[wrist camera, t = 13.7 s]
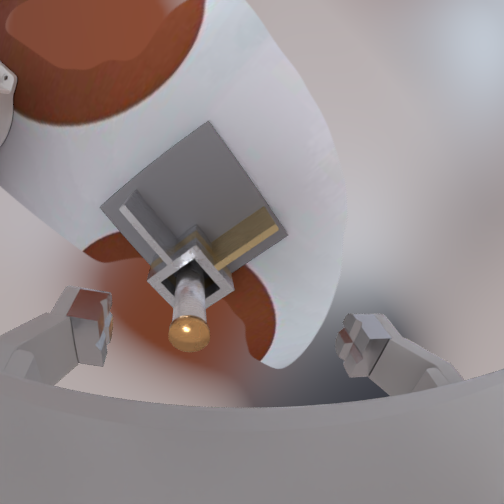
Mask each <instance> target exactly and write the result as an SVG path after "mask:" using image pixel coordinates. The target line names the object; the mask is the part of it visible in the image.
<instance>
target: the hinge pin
mask: <svg viewBox="0 0 504 504" xmlns="http://www.w3.org/2000/svg"><path fill="white" fill-rule="evenodd" d="M169 340H170V342H171V344H172V345H173V346H174V347H176V348H177V349H179V350H181V351H186V352H194V351H199V350H201V349H203V348H204V347H205V346H206V345H207V344H208V343H209V340H210V330H209V326H208V324H207V323H206V306H205V286H204V269H203V268H202V267H201V266H200V265H199V264H198V262H197V261H196V260H195V259H193V260H191V261H190V262H188V263H187V264H186V265H184V266H183V267H181V268H180V269H179V270H177V279H176V288H175V298H174V309H173V321H172V323H171V325H170V327H169Z"/></svg>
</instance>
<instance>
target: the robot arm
mask: <svg viewBox="0 0 504 504" xmlns="http://www.w3.org/2000/svg"><path fill="white" fill-rule="evenodd" d="M7 76H8V79H7V80H6V78H7ZM16 84H17V76H16V75H15V74H14V73H13V72H12V71H11V70H10V69H8V68H7V67H6V66H5V65H4V64H3V63H2V62H1V61H0V146H1V145H2V143H3V142H4V140H5V139H6V137H7V134H8V132H9V129H10V126H11V122H12V116H13V94H14V91H15V88H16ZM111 306H112V295H111V293H110V292H104V291H98V290H92V289H86V288H80V287H74V286H67V287H66V288H65V289H64V291H63V293H62V294H61V296H60V298H59V299H58V301H57V303H56V304H55V306H54V307H53V309H52V311H51V313H44V314H42V315H40V316H38V317H36V318H34V319H32V320H30V321H28V322H27V323H24V324H22V325H20V326H19V327H16V328H14V329H12V330H10V331H8V332H7V333H5V334H3V335H1V336H0V504H504V369H501V370H499V371H495V372H492V373H489V374H486V375H482V376H479V377H475V378H472V379H468V380H464V379H463V377H462V376H461V375H460V374H459V372H458V371H457V370H456V369H455V368H454V366H453V365H452V364H451V363H449V362H447V361H446V360H444V359H442V358H440V357H438V356H437V355H435V354H433V353H431V352H430V351H428V350H426V349H424V348H423V347H421V346H419V345H417V344H416V343H414V342H412V341H410V340H409V339H407V338H403V337H402V336H401V335H400V333H399V332H398V331H397V330H396V329H395V327H394V326H393V325H392V323H391V322H390V321H389V320H388V318H387V317H386V316H385V315H383V314H348V315H347V316H346V317H345V319H344V321H343V325H344V328H343V329H342V330H341V331H340V332H339V333H338V335H337V338H336V343H335V348H336V352H337V354H338V356H339V357H340V358H341V359H343V360H344V364H343V366H344V367H345V369H346V371H347V373H348V375H349V377H366V376H369V378H370V379H371V380H372V381H374V382H375V383H376V384H377V385H378V386H380V387H381V388H382V389H383V390H384V391H385V392H387V393H388V394H389V395H390V397H383V398H377V399H370V400H362V401H354V402H346V403H335V404H324V405H311V406H295V407H269V408H225V407H200V406H183V405H172V404H160V403H151V402H142V401H135V400H127V399H120V398H114V397H107V396H101V395H95V394H90V393H85V392H80V391H75V390H70V389H66V388H61V387H57V386H54V385H55V384H56V383H57V382H58V381H60V380H61V379H62V378H63V377H64V376H65V375H67V374H68V373H69V372H70V371H71V370H72V369H74V368H75V367H76V366H77V365H78V363H81V364H87V365H94V366H101V367H103V366H104V362H105V358H106V355H107V344H109V343H110V341H111V337H112V330H113V316H112V314H111V313H110V309H111Z"/></svg>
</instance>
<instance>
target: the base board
mask: <svg viewBox="0 0 504 504" xmlns="http://www.w3.org/2000/svg"><path fill="white" fill-rule="evenodd" d="M135 190H137V191H138V192H139V193H140V195H141V196H142V197H143V198H144V200H145V201H146V202H147V203H148V204H149V206H150V207H151V208H152V209H153V210H154V212H155V213H156V214H157V215H158V217H159V218H160V219H161V220H162V221H163V223H164V224H165V225H166V226H167V227H168V228H169V230H170V231H171V232H172V233H173V234H174V236H175V237H176V238H178V237H179V236H180V235H182V234H183V233H184V232H186V231H187V230H189V229H190V228H191V227H193V226H194V225H195V224H197V225H198V226H199V228H200V229H201V230H202V231H203V233H204V234H205V235H206V236H207V238H208V239H209V240H210V241H211V242H213V241H214V240H215V239H217V238H218V237H220V236H221V235H223V234H224V233H225V232H227V231H228V230H230V229H231V228H233V227H234V226H236V225H237V224H239V223H240V222H241V221H243V220H244V219H246V218H247V217H249V216H250V215H252V214H253V213H255V212H256V211H257V210H259V209H260V208H262V207H263V206H264V207H265V208H266V210H267V211H268V213H269V214H270V216H271V217H272V219H273V220H274V222H275V223H276V225H277V227H278V228H279V230H278V231H277V232H275V233H274V234H272V235H271V236H269V237H268V238H266V239H265V240H263V241H262V242H260V243H259V244H257V245H256V246H254V247H253V248H251V249H250V250H249V251H247V252H246V253H244V254H243V255H241V256H240V257H238V258H237V259H235V260H234V261H232V262H231V263H229V265H230V270H231V273H233V272H234V271H236V270H237V269H239V268H240V267H242V266H243V265H245V264H246V263H248V262H249V261H250V260H252V259H253V258H255V257H256V256H258V255H259V254H261V253H262V252H264V251H265V250H267V249H268V248H270V247H271V246H273V245H274V244H276V243H277V242H279V241H280V240H282V239H283V238H285V237H286V236H288V234H287V232H286V231H285V229H284V228H283V226H282V225H281V223H280V222H279V220H278V219H277V217H276V216H275V215H274V213H273V212H272V210H271V209H270V207H269V206H268V204H267V203H266V201H265V200H264V198H263V197H262V196H261V194H260V193H259V191H258V190H257V188H256V187H255V185H254V184H253V183H252V181H251V180H250V178H249V177H248V175H247V174H246V172H245V171H244V170H243V168H242V167H241V165H240V164H239V163H238V161H237V160H236V158H235V157H234V156H233V154H232V153H231V151H230V150H229V148H228V147H227V146H226V144H225V143H224V142H223V140H222V139H221V137H220V136H219V135H218V133H217V132H216V130H215V129H214V128H213V126H212V125H211V124H210V122H209V121H207V122H206V123H205V124H203V125H202V126H200V127H199V128H197V129H196V130H195V131H193V132H192V133H190V134H189V135H188V136H186V137H185V138H184V139H182V140H181V141H180V142H178V143H177V144H176V145H174V146H173V147H172V148H170V149H169V150H168V151H166V152H165V153H164V154H162V155H161V156H160V157H159V158H157V159H156V160H155V161H153V162H152V163H151V164H150V165H148V166H147V167H146V168H145V169H143V170H142V171H141V172H140V173H139V174H137V175H136V176H135V177H134V178H133V179H131V180H130V181H129V182H128V183H127V184H125V185H124V186H123V187H122V188H121V189H120V190H118V191H117V192H116V193H115V194H114V195H113V196H112V197H110V198H109V199H108V200H107V201H106V202H105V203H104V204H103V205H102V206H101V207H100V208H101V210H102V211H103V212H104V213H105V214H106V216H107V217H108V218H109V219H110V220H111V221H112V223H113V224H114V225H115V226H116V227H117V228H118V230H119V231H120V232H121V233H122V234H123V235H124V237H125V238H126V239H127V240H128V241H129V242H130V243H131V244H132V246H133V247H134V248H135V249H136V250H137V251H138V252H139V253H140V255H141V256H142V257H143V258H144V259H145V260H146V261H147V262H148V263H149V264H150V266H151V263H152V259H153V256H154V255H155V254H156V252H155V251H154V250H153V249H152V247H151V246H150V245H149V244H148V243H147V242H146V241H145V240H144V238H143V237H142V236H141V235H140V234H139V233H138V231H137V230H136V229H135V228H134V227H133V226H132V224H131V223H130V222H129V221H128V220H127V219H126V217H125V216H124V215H123V214H122V213H121V211H120V210H119V208H120V207H121V206H122V205H123V203H124V202H125V201H126V199H127V198H128V197H129V196H130V194H131V193H132V192H134V191H135ZM204 272H205V270H204Z"/></svg>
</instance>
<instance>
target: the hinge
mask: <svg viewBox="0 0 504 504" xmlns="http://www.w3.org/2000/svg"><path fill="white" fill-rule="evenodd" d="M119 210H120V211H121V213H122V214H123V215H124V216H125V217H126V219H127V220H128V221H129V222H130V223H131V224H132V226H133V227H134V228H135V229H136V230H137V231H138V233H139V234H140V235H141V236H142V237H143V238H144V240H145V241H146V242H147V243H148V244H149V245H150V246H151V247H152V249H153V250H154V251H155V252H156V254H155V255H154V256H153V259H152V263H151V266H150V270H149V274H148V278H147V281H148V283H150V285H151V286H152V287H153V288H154V289H155V290H156V291H157V292H158V293H159V294H160V295H161V296H162V297H163V298H164V299H165V300H166V301H167V302H168V303H169V304H170V305H171V306H172V307H173V308H174V298H175V288H176V279H177V270H179V269H180V268H181V267H183V266H184V265H186V264H187V263H188V262H190V261H191V260H193V259H195V260H196V261H197V262H198V264H199V265H200V266H201V267H202V268H203V269H204V270H205V272H204V286H205V306H206V308H208V307H209V306H211V305H212V304H214V303H215V302H217V301H218V300H220V299H222V298H223V297H225V296H226V295H228V294H229V293H231V292H232V291H234V285H233V280H232V275H231V270H230V265H229V263H231V262H232V261H234V260H235V259H237V258H238V257H240V256H241V255H243V254H244V253H246V252H247V251H249V250H250V249H251V248H253V247H254V246H256V245H257V244H259V243H260V242H262V241H263V240H265V239H266V238H268V237H269V236H271V235H272V234H274V233H275V232H277V231H278V230H279V228H278V227H277V225H276V223H275V222H274V220H273V219H272V217H271V216H270V214H269V213H268V211H267V210H266V208H265V207H264V206H263V207H262V208H260V209H259V210H257V211H256V212H255V213H253V214H252V215H250V216H249V217H247V218H246V219H244V220H243V221H241V222H240V223H239V224H237V225H236V226H234V227H233V228H231V229H230V230H228V231H227V232H225V233H224V234H223V235H221V236H220V237H218V238H217V239H215V240H214V241H213V242H211V241H210V240H209V239H208V238H207V236H206V235H205V234H204V233H203V231H202V230H201V229H200V228H199V226H198V225H197V224H195V225H194V226H193V227H191V228H190V229H189V230H187V231H186V232H184V233H183V234H182V235H180V236H179V237H178V238H176V237H175V236H174V234H173V233H172V232H171V231H170V230H169V228H168V227H167V226H166V225H165V224H164V223H163V221H162V220H161V219H160V218H159V217H158V215H157V214H156V213H155V212H154V210H153V209H152V208H151V207H150V206H149V204H148V203H147V202H146V201H145V200H144V198H143V197H142V196H141V195H140V193H139V192H138V191H137V190H135V191H134V192H132V193H131V194H130V196H129V197H128V198H127V199H126V201H125V202H124V203H123V205H122V206H121V207H120V208H119Z"/></svg>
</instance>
